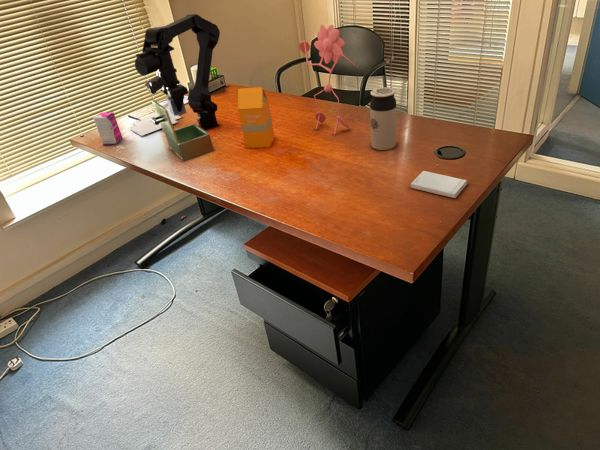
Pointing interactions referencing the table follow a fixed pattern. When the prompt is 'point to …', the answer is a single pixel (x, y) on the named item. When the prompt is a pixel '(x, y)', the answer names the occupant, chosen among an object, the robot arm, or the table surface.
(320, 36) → the figurine
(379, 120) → the travel mug
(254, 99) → the orange juice
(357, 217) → the table surface
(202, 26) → the robot arm
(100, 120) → the supplement box
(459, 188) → the hard drive
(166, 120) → the bin lid
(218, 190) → the table surface
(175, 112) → the blue-grey block
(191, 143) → the waste bin
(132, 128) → the paper stack
